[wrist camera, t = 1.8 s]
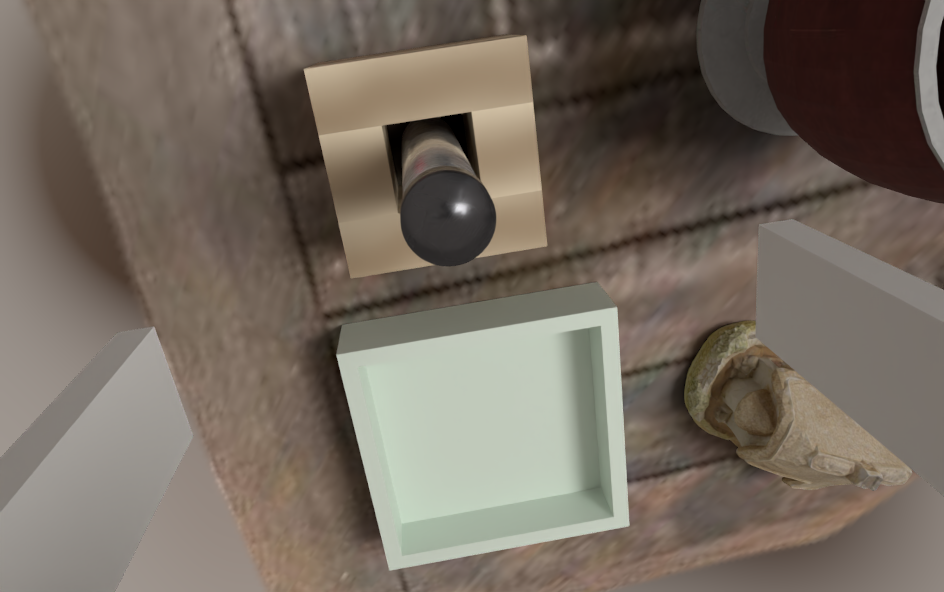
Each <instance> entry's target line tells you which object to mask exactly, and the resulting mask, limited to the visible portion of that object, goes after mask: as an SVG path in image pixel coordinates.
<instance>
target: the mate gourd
mask: <svg viewBox="0 0 944 592" xmlns="http://www.w3.org/2000/svg"><path fill="white" fill-rule="evenodd" d="M696 33H697V54H698V59H699V64H700V68H701V73H702V75H703V78H704V80H705V82H706V85H707V87H708V89H709V91H710V93H711V94H712V96H713V97H714V99H715V100H716V101H717V103H718V104H719V105H720V107H721V108H722V109H723V110H724V111H725V112H727V113H728V114H729V115H730V116H731V117H732V118H734V119H735V120H736V121H738V122H740V123H742V124H744V125H746V126H748V127H749V128H751V129H754V130H758V131H762V132H766V133H770V134H774V135H788V136H797V135H799V136H800V137H801V138H802V139H803V140H804V141H805V142H807V143H808V144H809V145H810V146H811V147H812V148H813V149H814V150H816V151H817V152H818V153H819V154H820V155H821V156H823V157H824V158H826V159H828V160H829V161H831V162H833V163H834V164H836V165H838V166H839V167H841V168H843V169H844V170H846V171H848V172H850V173H852V174H854V175H856V176H857V177H859V178H861V179H863V180H865V181H867V182H869V183H872V184H875V185H878V186H881V187H884V188H887V189H890V190H893V191H896V192H899V193H902V194H905V195H908V196H912V197H916V198H920V199H925V200H929V201H933V202H937V203H944V0H701V3H700V8H699V15H698V21H697V28H696Z"/></svg>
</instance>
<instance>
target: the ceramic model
mask: <svg viewBox="0 0 944 592" xmlns="http://www.w3.org/2000/svg"><path fill="white" fill-rule="evenodd" d="M755 331H756V321H742V322H738V323H733V324H729V325H726V326H724V327H721V328H719V329H718V330H716V331H715V332H713V333H712V334H711V335H710V336H709V337H708V338H707V340H706V342H705V343H704V344H703V346H702V347H701V349H700V350H699V352H698V354H697V356H696V357H695V359H694V360H693V362H692V364H691V366H690V368H689V370H688V374H687V378H686V383H685V389H684V399H685V405H686V407H687V409H688V412H689V414H690V415H691V416H692V418H693V420H694V421H695V423H696V424H697V425H698V426H699V427H700V428H702V429H703V430H705V431H706V432H707V433H709V434H712V435H715V436H717V437H720V438H722V439H726V440H731V441H732V442H733V443H734V444H735V445H736V446H737V447H739V448H737V450H736V453H737V454H738V456H739V457H740V458H742V459H744V460H745V461H746V462H747V463H748V464H750V465H753V466H755V467H757V468H760V469H763V470H766V471H769V472H771V473H774V474H777V475H780V476H783V478H782V481H783V482H784V483H786V484H787V485H789V486H790V487H792V488H797V489H805V490H815V489H820V488H823V487H827V486H832V485H844V484H854V485H856V486H859V487H861V488H863V489H866V488H869V489H871V490H873V491H874V490H876V489H877V488H878V486H879V485H880V484H883V485H887V486H892V485H900V484H904V483H905V482H906V481H907V480H908V478H909V477H910V476H911V474H912V471H911V468H910V467H908V466H907V465H906V464H905V463H904V462H902V461H901V460H900V459H899V458H898V457H897V456H895V455H894V454H893V453H892V452H891V451H889V450H888V449H887V448H886V447H885V446H884V445H882V444H881V443H880V442H879V441H878V440H876V439H875V438H874V437H873V436H872V435H871V434H869V433H868V432H867V431H866V430H865V429H863V428H862V427H861V426H860V425H859V424H858V423H856V422H855V421H854V420H853V419H852V418H850V417H849V416H848V415H847V414H846V413H845V412H843V411H842V410H841V409H840V408H839V407H837V406H836V405H835V404H834V403H833V402H832V401H830V400H829V399H828V398H827V397H826V396H824V395H823V394H822V393H821V392H820V391H819V390H817V389H816V388H815V387H814V386H813V385H811V384H810V383H809V382H808V381H807V380H806V379H804V378H803V377H802V376H801V375H800V374H798V373H797V372H796V371H795V370H794V369H793V368H791V367H790V366H789V365H788V364H787V363H785V362H784V361H783V360H782V359H781V358H780V357H778V356H777V355H776V354H775V353H774V352H772V351H771V350H770V349H769V348H768V347H767V346H765V345H764V344H763V343H762V342H761V341H759V340H758V339H757V338H756V337H755Z"/></svg>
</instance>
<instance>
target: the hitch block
mask: <svg viewBox="0 0 944 592" xmlns="http://www.w3.org/2000/svg"><path fill="white" fill-rule="evenodd" d="M304 73H305V77H306V82H307V86H308V91H309V95H310V99H311V104H312V108H313V113H314V117H315V122H316V126H317V131H318V135H319V139H320V144H321V148H322V153H323V157H324V162H325V166H326V170H327V175H328V179H329V184H330V188H331V193H332V197H333V201H334V206H335V210H336V215H337V219H338V224H339V228H340V233H341V237H342V241H343V246H344V250H345V255H346V259H347V264H348V268H349V272H350V277H351V279H352V278H358V277H364V276H370V275H376V274H382V273H388V272H394V271H400V270H406V269H412V268H418V267H424V266H430V265H435V264H431V263H429V262H427V261H425V260H423V259H421V258H420V257H419V256H417V255H416V254H415V253H414V252H413V251H412V250H411V249H410V247H409V246H408V245H407V243H406V241H405V239H404V237H403V234H402V230H401V223H400V207H401V201H402V198H403V185H402V186H398V183H397V178H396V172H395V167H394V162H393V156H392V151H391V145H390V140H389V135H388V129H387V125H389V124H396V123H402V122H408V121H415V120H421V119H428V118H434V117H441V116H447V115H453V114H460V113H462V115H463V122H464V129H465V136H466V144H467V151H468V158H469V163H470V165H471V167H472V169H473V171H474V173H475V175H476V177H477V178H478V179H479V180H480V181H481V182H482V183H483V185H484V186H485V188H486V189H487V191H488V193H489V195H490V197H491V199H492V201H493V203H494V206H495V210H496V228H495V232H494V235H493V237H492V239H491V241H490V243H489V245H488V246H487V247H486V249H485V250H484V251H483V252H482V253H481V254H480V255H479V256H477V257H476V258H479V257H485V256H491V255H497V254H503V253H509V252H515V251H521V250H527V249H533V248H539V247H545V246H547V239H546V229H545V218H544V208H543V198H542V188H541V177H540V167H539V157H538V147H537V136H536V126H535V116H534V106H533V95H532V85H531V75H530V64H529V54H528V44H527V35H508V34H506V35H499V36H492V37H486V38H479V39H472V40H466V41H459V42H453V43H446V44H439V45H433V46H426V47H419V48H413V49H406V50H400V51H393V52H386V53H380V54H373V55H366V56H360V57H353V58H346V59H340V60H333V61H327V62H320V63H317V64H315V65H312V66H310V67H308V68H305V69H304Z"/></svg>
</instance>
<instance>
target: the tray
mask: <svg viewBox="0 0 944 592" xmlns="http://www.w3.org/2000/svg"><path fill="white" fill-rule="evenodd" d="M336 356H337V360H338V364H339V368H340V372H341V376H342V380H343V384H344V388H345V392H346V396H347V400H348V404H349V408H350V413H351V417H352V421H353V425H354V429H355V433H356V437H357V441H358V445H359V449H360V453H361V457H362V461H363V465H364V469H365V473H366V477H367V481H368V485H369V489H370V494H371V498H372V502H373V506H374V510H375V514H376V518H377V522H378V526H379V530H380V534H381V538H382V542H383V546H384V550H385V554H386V558H387V562H388V566H389V571H390V570H395V569H401V568H406V567H411V566H417V565H422V564H428V563H433V562H438V561H444V560H449V559H455V558H460V557H465V556H471V555H476V554H482V553H487V552H492V551H498V550H503V549H509V548H514V547H519V546H525V545H530V544H536V543H541V542H546V541H552V540H557V539H563V538H568V537H573V536H579V535H584V534H590V533H595V532H600V531H606V530H611V529H617V528H622V527H627V526H629V511H628V493H627V475H626V457H625V439H624V421H623V403H622V385H621V367H620V349H619V331H618V313H617V306H616V305H615V304H614V302H613V301H612V300H611V299H610V297H609V296H608V295H607V293H606V292H605V291H604V290H603V288H602V287H601V286H600V285H599V283H598V282H594V283H588V284H582V285H576V286H570V287H564V288H558V289H552V290H546V291H540V292H534V293H528V294H522V295H516V296H510V297H504V298H499V299H493V300H487V301H481V302H475V303H469V304H463V305H457V306H451V307H445V308H439V309H433V310H427V311H421V312H415V313H409V314H404V315H398V316H392V317H386V318H380V319H374V320H368V321H362V322H356V323H350V324H344V325H342V327H341V333H340V338H339V343H338V348H337V354H336Z"/></svg>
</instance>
